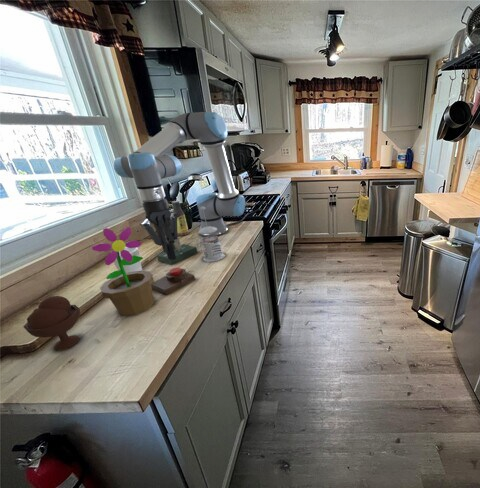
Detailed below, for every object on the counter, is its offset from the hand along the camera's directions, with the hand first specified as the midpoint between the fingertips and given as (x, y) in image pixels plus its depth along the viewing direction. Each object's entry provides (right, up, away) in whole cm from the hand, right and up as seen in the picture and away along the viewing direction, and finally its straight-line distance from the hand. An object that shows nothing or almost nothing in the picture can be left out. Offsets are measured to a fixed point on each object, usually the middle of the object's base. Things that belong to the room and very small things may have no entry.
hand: (172, 258), depth 100 cm
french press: (+6, -1, +23) cm, 24 cm away
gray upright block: (-13, +2, +23) cm, 27 cm away
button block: (-1, -10, +2) cm, 10 cm away
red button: (0, -6, +2) cm, 7 cm away
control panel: (-12, 0, +25) cm, 28 cm away
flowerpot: (-6, -16, -11) cm, 20 cm away
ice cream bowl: (-15, -23, -26) cm, 38 cm away
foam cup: (-20, -9, +6) cm, 23 cm away
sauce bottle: (-25, +11, +54) cm, 61 cm away
